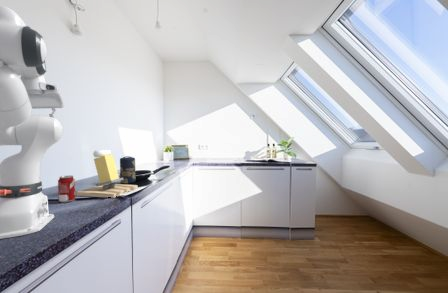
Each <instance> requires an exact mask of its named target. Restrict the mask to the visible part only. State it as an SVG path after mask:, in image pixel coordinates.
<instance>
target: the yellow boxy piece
mask: <svg viewBox="0 0 448 293" xmlns="http://www.w3.org/2000/svg"><path fill="white" fill-rule="evenodd" d="M92 155H93V157H94V158H93V161H94V164H95V169H96V173H97V177H98V180H97V183H98V184H97V183H96V184H95V186H96V187H98V186H102V185H105V184H111V183H115V182H119V181H120V180H123V178H120V175H119V173H118V169H117V164H116V161H115V157H114V155H113V154H112V150H111V149H100V150H94V151H93V154H92Z"/></svg>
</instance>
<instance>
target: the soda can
mask: <svg viewBox="0 0 448 293" xmlns="http://www.w3.org/2000/svg"><path fill="white" fill-rule="evenodd" d="M57 189H58V190H57V191H58V193H57V195H58V202H59V203H65V204H66V203H72V202H73V201H75V200H76V179H75V178H74V175H61V176H59V179H57Z"/></svg>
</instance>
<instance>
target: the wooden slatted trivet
mask: <svg viewBox="0 0 448 293" xmlns="http://www.w3.org/2000/svg"><path fill="white" fill-rule="evenodd" d="M138 187H139V186H138V185H137V184H124V183H121V184H118V183H115V182H113V183H109V184H105V185H102V186H98V187H96V185H95V186H93V187H90V188H85V189H82V190H79V191H75V196H76V197H92V198H93V197H94V198H108V197H111V198H112V199H115V198H117V197H119V196H118V195H120V194H122V195H124V194H123V193H125V192H127V193H129V192H128V191H130V192H132V191H135V190H137V188H138ZM134 189H135V190H134ZM131 190H132V191H131ZM125 194H126V193H125ZM116 196H117V197H116ZM120 196H121V195H120ZM111 198H110V199H111Z"/></svg>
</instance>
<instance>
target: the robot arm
mask: <svg viewBox="0 0 448 293" xmlns="http://www.w3.org/2000/svg"><path fill="white" fill-rule="evenodd" d="M47 55H48V48H47V44H46V42H45V40H44V38H43V35H42V34H40V33H39V32H38V31H37V30H35V29H32V28H31V27H30V26H29V25H27V24H26V22H25V21H24V20H23V19H22V17H20V15H18V13H16V11H14V10H13V9H12V8H10V7H8V6H6V5H3V4H0V146H21V149H20V151H19V152H17V153H15V154H13V155H10V156H8V157H6V158H4V159H2V161H1V162H0V240H2V239H9V238H14V237H19V236H20V237H21V236H25V235H30V234H34V233H36V232H39V231H41V230H42V229H43V228H44V227H45V226H46V225H48V224H49V223H50V222H51V221H52V220H53V219H54V218H55V215H54V213H49V201H48V200H49V199H48V196H47V195H46V194H44V193H43V182H42V181H41V167H42V166H41V164H42V159H43V157H44V154H45V153H46V152H47V150H49V149H50V147H52V146H53V145H54V144H56V143H57V142H59V141H60V139H62V136H63V134H64V133H63V132H64V130H63V125H62V123H61V122H60V121H59V120H58V119H57V118H55V117H54V114H55V112H56V109H62V108H64V107H65V105H64V104H65V103H64V100H63V96H62V94H61V93H60V92H59V87H58V86H57V85H55V84H54V85H53V84H51V83H47V82H46V79H45V78H46V77H45V73H47V67H46V61H45V60H46V59H47ZM33 109H37V110H38V109H51V111H52V112H51V113H49V114H48V115H49V116H48V115H47V116H46V115H40V114H32V112H33Z"/></svg>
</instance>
